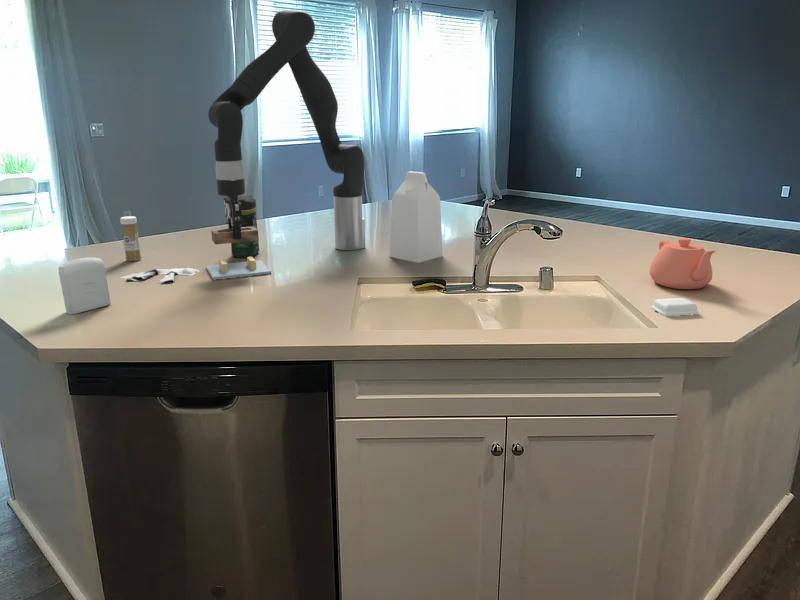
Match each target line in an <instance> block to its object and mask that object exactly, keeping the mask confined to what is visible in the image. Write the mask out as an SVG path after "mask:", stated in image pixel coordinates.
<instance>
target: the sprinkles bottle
mask: <svg viewBox="0 0 800 600" xmlns="http://www.w3.org/2000/svg"><path fill="white" fill-rule="evenodd" d="M137 220H138V219H137V217H136V216H133V215H129V216H128V215H127V216H122V217H120V218H119V221H120V224H121V230H122V236H123V237H122V238H123V247H124V252H125V261H126V262H132V263H133V262H138V261H140V260H142V256H141V246H140V240H139V238H140V237H139V232H138V225H137V222H138V221H137Z"/></svg>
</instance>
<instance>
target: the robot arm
mask: <svg viewBox="0 0 800 600" xmlns="http://www.w3.org/2000/svg"><path fill="white" fill-rule="evenodd" d="M271 29H272V34H273V37H274V39H275V42H274V43H273V44H272V45H270V46H269V48H267V49H266V50H265V51H264V52H263V53H261V54H260V55H258V56H257V57H256V58H254V59H253V60H252V61H251V62H250V63H248V64H247V65H246V66H245V67H244V69H242V71H241V72H240V74H239V75H237V77H236V79H234V81H233V83H232V84H231V85H230V86H229V87H228V88H227V89H226V90H224V92H222V94H220V95H219V96H218V97H217V98H216V99H215V100H214V101H213V102H212V104H211V105H210V107H209V109H208V113H207V114H208V115H207V116H208V119H209V122H210V123H211V125H213V126H214V127H216V128H217V139H216V140H215V141H214V157H215V178H216V187H217V188H216V190H217V195H219V196H222V197H223V196H224V197H223V202H224V203H223V205H224V213H225V219H226V221H227V225H228V228H232V231H233V238H234V239H235V240H236V239H241V225H242V223H243V222H242V208H241V207H242V205H241V202H240V201H239V200H238V197H239V196H244V194H246V183H245V181H246V180H245V171H244V169H245V168H244V164H243V157H242V156H243V155H242V147H241V141H242V136H243V126H244V122H243V121H244V120H243V119H244V118H243V114H242V110H243V109H244V108H245V107H247V106H250V105H251V104H252V103H253V102H255V100H257V98H258V97H259V96H260V94H262V92H263V90H265V88H266V86H267V85H268V84H269V83H270V82H271V80H272V79H273V78H274V77H275V76H276V75H277V74H278V73H279V72H280V71H281V70H282V69H283V68H284V66H285V65H287V64H288V66H289V68H290V71H291V72H292V75H293V77H294V80H295V82H296V84H297V86H298V89H299V91H300V94H301V97H302V99H303V100H302V101H303V102H304V105H305V106H306V109H307V112H308V114H309V115H310V118H311V121H312V122H313V125H314V126H313V127H314V129H315V131H316V133H317V136H318V139H319V141H320V146H321V148H322V149H321V150H322V152H323V156H324V158H325V162H326V164H327V166H328V168H329V169H330V171H331V172H333V173H335V174H340V175H343V177H342V178H343V180H342V182H341V183H340V184H338V185H337V184H336V185H334V187H333V188H332V189H333V190H332V193H333V197H332V198H333V217H334V220H333V221H334V246H335V247H334V248H335V249H337V250H340V251H356V250H360V249H365V248H366V225H365V224H366V219H365V218H363V217H364V216H363V189H364V184H365V156H364V151H363V149H362V148H361V147H360V146H358V145H356V144H345V143H344V144H343V143H342V141H341V140H340V137H339V135H338V132H337V124H336V123H337V118H338V113H339V112H338V110H339V104H338V100H337V97H336V95H335V92H334V89H333V86H332V84H331V82H330V81H329V79H328V77H327V75H325V73H324V72H323V71H322V70H321V68H320V67H319V66H318V64H317V63H316V62H315V61H314V59H313V58H312V57H311V55H310V53H309V50H308V48H307V47H308V46H307V45H308V44H309V43H311V41H312V40H313V38H314V36H315V32H316V26H315V22H314V20H313V17H312V16H311V15H310V13H307V12H305V11H302V10H291V9H290V10H288V9H286V10H281V11H278V12H277V13H276V14H274V16H273V18H272V22H271ZM236 218H238V220H237V219H236ZM236 220H237V221H236ZM228 228H227V229H228Z"/></svg>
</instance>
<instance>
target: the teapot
mask: <svg viewBox="0 0 800 600" xmlns="http://www.w3.org/2000/svg"><path fill="white" fill-rule="evenodd" d="M715 252H716V250H707V251H706V250H705V248H704V247H703V246H702V245H700V244H696V243H692V239H691V238H688V237H680V238H678V240H677V241H674V242H673V241H672V242H671V241H669V240H667V239H661V240H659V243H658V251H657V252H656V253H655V255H654V257H653V259H652V261H651V263H650V265H649V270H648V271H649V275H650V278H651V279H652V281H654V283H655V284H657V285H660V286H662V287H666V288H671V289H675V290H698V289H701V288H704V287H706V286H707V285H708V284H709V283H710V282H711V281H712V279H713V267H712V263H711V258H712V256H713V254H714V253H715Z"/></svg>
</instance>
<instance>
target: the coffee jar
mask: <svg viewBox="0 0 800 600" xmlns="http://www.w3.org/2000/svg"><path fill="white" fill-rule="evenodd" d="M238 200H239V201H240V202H241V205H242V207H241V208H242V222H243V223H242V225H241V227H252V226H254V227H255V228H256V229H257V230H258V223H257V222H258V221H257V202H256V198H255V197H253V196H251V195H238ZM236 219H237V220H238V218H236ZM237 220H236V221H237ZM259 242H260V241H248V242H237V243H230V244H231V247H230V248H231V249H230V250H231V256H233V257H237V258H239V257H240V258H243V259H244V258H247V257H254V256H256V255H258V253H259V252H260V244H259ZM240 258H239V259H240Z"/></svg>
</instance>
